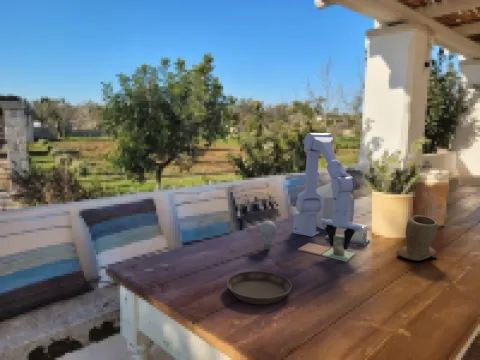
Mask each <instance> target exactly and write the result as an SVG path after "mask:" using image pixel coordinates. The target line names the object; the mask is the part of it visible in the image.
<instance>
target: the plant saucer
mask: <svg viewBox="0 0 480 360" xmlns="http://www.w3.org/2000/svg"><path fill="white" fill-rule="evenodd" d="M226 284H227V288H228V289H229V291H230V293H231V294H232V295H233V296H234V297H235V298H237V299H238V300H240V301H242V302H245V303H248V304H253V305H271V303H272V304H275V303H277V302H279V301H281V300H283V299H284V298H285V297H287V295H288V294H289V293H290V291H291V289H292V286H293V285H292V283H291V281H290V280H289V279H288V278H286V277H284V276H282V275H280V274H277V273H275V272H269V271H261V270H250V271H243V272H239V273H236V274H234V275H231V276H230V277H229V278H228V280H227V282H226Z"/></svg>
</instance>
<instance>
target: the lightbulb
mask: <svg viewBox="0 0 480 360" xmlns="http://www.w3.org/2000/svg"><path fill="white" fill-rule="evenodd" d="M259 232H260V234H261V237H262V239H263V247H264V249H265V250H266V251H269V250H270V249H272V243H273V239H274V236H275V235H276V233H277V225H276V224H275V223H274V222H273V221H271V220H264V221H263V222H262V223H261V224H260V226H259Z"/></svg>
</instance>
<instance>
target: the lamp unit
mask: <svg viewBox="0 0 480 360" xmlns="http://www.w3.org/2000/svg"><path fill="white" fill-rule="evenodd" d="M350 223H351V222H350ZM353 223H354V224H357V225H362V231H361V232H357V231H355V233H354V234H353V236H352V238H351V240H350V243H349V245H355V246H359V247H365V246H367V245H368V244H369V243H370V241H371V239H367V237H368V225H366V224H363V223H362V224H361V223H355V222H353ZM345 230H347V229H344V228H338V227H337V228H336V233H335V235H344V231H345ZM324 238H325V239H326V240H329V237H328V234H327V235H325V236H324Z"/></svg>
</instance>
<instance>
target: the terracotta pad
mask: <svg viewBox="0 0 480 360" xmlns="http://www.w3.org/2000/svg"><path fill="white" fill-rule="evenodd" d="M331 248H332V247H331V246H330V247H329V246H325V245H320V244H315V243H312V242H308V243H306V244H304V245H302V246H301V247H298V248H297V250H298V251H300V252H305V253H308V254H309V253H310V254H312V255H318V256H322V254H323V253H325V252H326V251H328V250H330V249H331Z"/></svg>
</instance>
